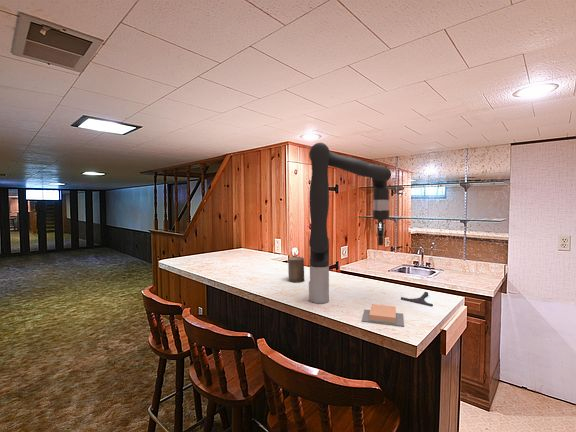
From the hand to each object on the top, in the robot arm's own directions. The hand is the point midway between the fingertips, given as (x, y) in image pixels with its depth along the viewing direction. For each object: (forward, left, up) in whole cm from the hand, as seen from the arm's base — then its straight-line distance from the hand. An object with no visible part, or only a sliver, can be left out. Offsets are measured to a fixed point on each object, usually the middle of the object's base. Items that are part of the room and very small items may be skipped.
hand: (380, 245), depth 145 cm
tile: (+2, -16, -25) cm, 30 cm away
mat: (+2, -23, -27) cm, 35 cm away
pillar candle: (-50, +21, -27) cm, 61 cm away
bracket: (+19, +7, -28) cm, 34 cm away
